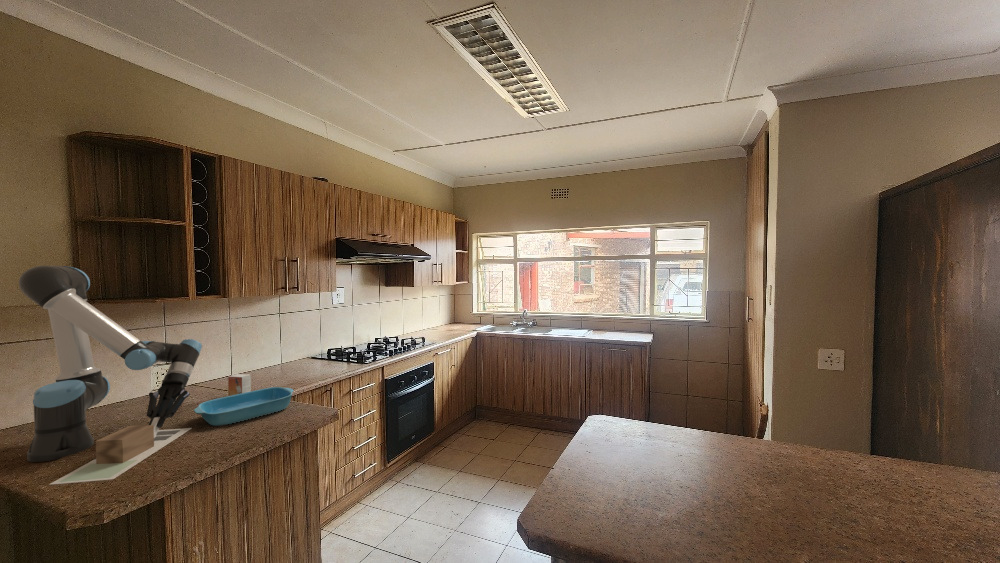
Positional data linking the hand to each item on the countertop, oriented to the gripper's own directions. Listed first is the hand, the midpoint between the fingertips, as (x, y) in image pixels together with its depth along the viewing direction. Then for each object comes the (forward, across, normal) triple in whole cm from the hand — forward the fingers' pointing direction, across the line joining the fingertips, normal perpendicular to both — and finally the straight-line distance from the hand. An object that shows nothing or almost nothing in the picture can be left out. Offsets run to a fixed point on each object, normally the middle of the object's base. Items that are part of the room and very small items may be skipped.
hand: (150, 436), depth 136 cm
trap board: (+6, +2, +1) cm, 7 cm away
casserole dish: (-16, -20, -24) cm, 35 cm away
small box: (-35, -5, -44) cm, 56 cm away
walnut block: (+7, +3, +3) cm, 8 cm away
